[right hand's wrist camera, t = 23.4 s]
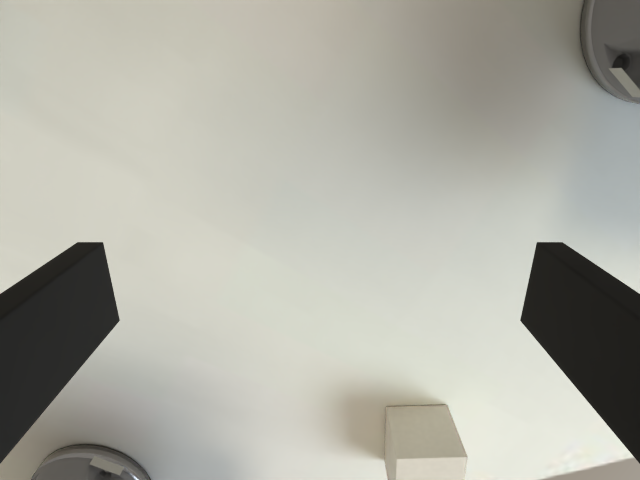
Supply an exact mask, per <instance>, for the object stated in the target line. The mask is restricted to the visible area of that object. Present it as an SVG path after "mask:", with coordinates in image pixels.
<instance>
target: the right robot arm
mask: <svg viewBox="0 0 640 480" xmlns="http://www.w3.org/2000/svg"><path fill="white" fill-rule="evenodd" d="M581 43H582V49H583V54H584V58H585V60H586V63H587V66H588V68H589V70H590V72H591V73H592V75H593V76H594V78H595V79H596V81H597V82H598V83H599V84H600V85H601V86H602V87H603V88H604V89H605V90H606V91H608V92H609V93H611V94H612V95H614V96H616V97H618V98H620V99H622V100H625V101H628V102H632V103H638V104H640V0H585V2H584V7H583V11H582V19H581ZM119 321H120V320H119V316H118V311H117V306H116V301H115V297H114V292H113V287H112V283H111V278H110V273H109V268H108V264H107V259H106V254H105V250H104V245H103V242H77V243H76V244H74V245H73V246H71V247H70V248H69V249H67V250H66V251H64V252H63V253H61V254H60V255H58V256H57V257H55V258H54V259H52V260H51V261H49V262H48V263H46V264H45V265H43V266H42V267H40V268H39V269H37V270H36V271H34V272H33V273H31V274H30V275H28V276H27V277H25V278H24V279H22V280H21V281H19V282H18V283H16V284H15V285H13V286H12V287H10V288H9V289H7V290H6V291H4V292H3V293H1V294H0V463H1V462H2V461H3V460H4V458H5V457H6V456H7V455H8V454H9V452H10V451H11V450H12V449H13V448H14V446H15V445H16V444H17V443H18V442H19V440H20V439H21V438H22V437H23V436H24V434H25V433H26V432H27V431H28V430H29V428H30V427H31V426H32V425H33V424H34V422H35V421H36V420H37V419H38V418H39V416H40V415H41V414H42V413H43V412H44V410H45V409H46V408H47V407H48V406H49V404H50V403H51V402H52V401H53V400H54V398H55V397H56V396H57V395H58V394H59V392H60V391H61V390H62V389H63V388H64V386H65V385H66V384H67V383H68V382H69V381H70V379H71V378H72V377H73V376H74V375H75V373H76V372H77V371H78V370H79V369H80V367H81V366H82V365H83V364H84V363H85V361H86V360H87V359H88V358H89V357H90V355H91V354H92V353H93V352H94V351H95V349H96V348H97V347H98V346H99V345H100V343H101V342H102V341H103V340H104V339H105V337H106V336H107V335H108V334H109V333H110V331H111V330H112V329H113V328H114V327H115V325H116V324H117V323H118V322H119ZM520 321H521V322H522V323H523V324H524V325H525V327H526V328H527V329H528V330H529V331H530V333H531V334H532V335H533V336H534V337H535V339H536V340H537V341H538V342H539V343H540V345H541V346H542V347H543V348H544V349H545V351H546V352H547V353H548V354H549V355H550V357H551V358H552V359H553V360H554V361H555V363H556V364H557V365H558V366H559V367H560V369H561V370H562V371H563V372H564V373H565V375H566V376H567V377H568V378H569V379H570V381H571V382H572V383H573V384H574V385H575V386H576V388H577V389H578V390H579V391H580V392H581V394H582V395H583V396H584V397H585V398H586V400H587V401H588V402H589V403H590V404H591V406H592V407H593V408H594V409H595V410H596V412H597V413H598V414H599V415H600V416H601V418H602V419H603V420H604V421H605V422H606V424H607V425H608V426H609V427H610V428H611V430H612V431H613V432H614V433H615V434H616V436H617V437H618V438H619V439H620V440H621V442H622V443H623V444H624V445H625V446H626V448H627V449H628V450H629V451H630V452H631V454H632V455H633V456H634V457H635V458H636V460H637V461H638V462H639V463H640V294H639V293H637V292H636V291H634V290H633V289H631V288H630V287H628V286H627V285H625V284H624V283H622V282H621V281H619V280H618V279H616V278H615V277H613V276H612V275H610V274H609V273H607V272H606V271H604V270H603V269H601V268H600V267H598V266H597V265H595V264H594V263H592V262H591V261H589V260H588V259H586V258H585V257H583V256H582V255H580V254H579V253H577V252H576V251H574V250H573V249H571V248H570V247H569V246H567V245H566V244H564V243H563V242H537V245H536V250H535V254H534V259H533V264H532V268H531V273H530V278H529V283H528V287H527V292H526V297H525V301H524V306H523V311H522V316H521V320H520Z"/></svg>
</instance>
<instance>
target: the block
mask: <svg viewBox="0 0 640 480" xmlns="http://www.w3.org/2000/svg"><path fill="white" fill-rule="evenodd" d="M466 465H467V454H466V452H465V449H464V447H463V444H462V441H461V439H460V436H459V434H458V431H457V429H456V426H455V423H454V421H453V418H452V416H451V413H450V411H449V408H448V406H447V405H427V406H394V407H386V427H385V466H386V472H387V478H388V480H465V473H466Z"/></svg>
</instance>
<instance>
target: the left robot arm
mask: <svg viewBox="0 0 640 480" xmlns="http://www.w3.org/2000/svg"><path fill="white" fill-rule="evenodd" d="M31 480H150V478H149V476H148V474H147V473H146V472H145V471H144V469H143V468H142V467H141V466H140V465H139V464H137V463H136V462H135V461H134V460H132V459H131V458H129V457H127V456H126V455H124V454H122V453H119V452H117V451H114V450H112V449H108V448H105V447H100V446H93V445H75V446H69V447H65V448H62V449H60V450H57V451H55V452H53V453H52V454H50V455H49V456H48V457H47V458H46V459H45V460H44V461H43V463H42V464H41V465H40V467H39V468H38V469H37V471H36V472H35V473H34V475H33V477H32V479H31Z"/></svg>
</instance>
